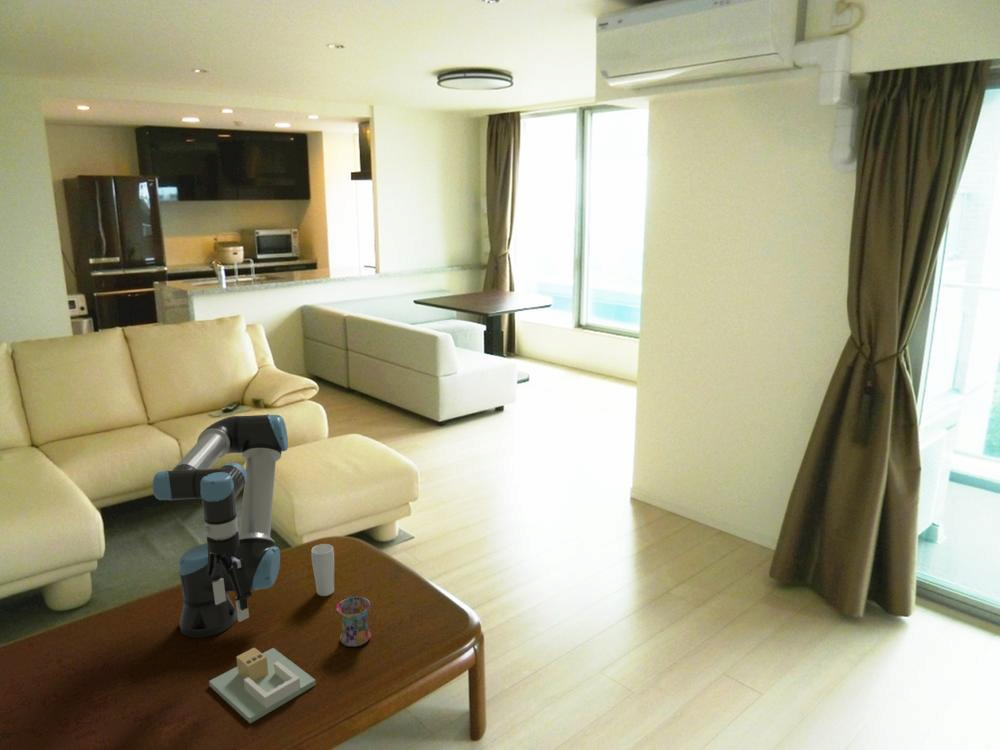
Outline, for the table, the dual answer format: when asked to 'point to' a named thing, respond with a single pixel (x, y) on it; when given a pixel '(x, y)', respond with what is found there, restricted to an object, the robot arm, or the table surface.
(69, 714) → the table surface
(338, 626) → the table surface
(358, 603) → the mug
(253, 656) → the plug
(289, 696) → the board
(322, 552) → the drinking glass
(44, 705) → the table surface
